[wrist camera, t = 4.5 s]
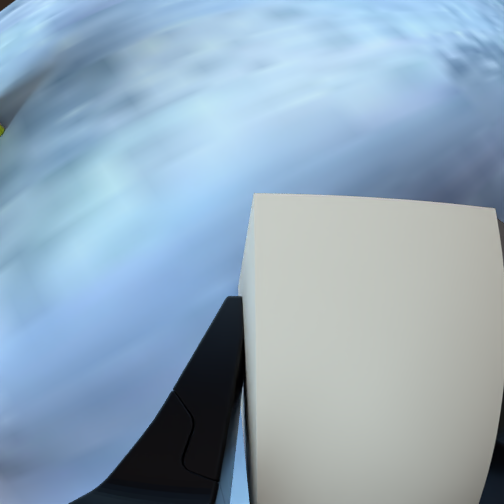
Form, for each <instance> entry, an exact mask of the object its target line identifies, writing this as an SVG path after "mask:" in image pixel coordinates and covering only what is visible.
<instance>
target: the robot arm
mask: <svg viewBox="0 0 504 504" xmlns="http://www.w3.org/2000/svg"><path fill="white" fill-rule="evenodd" d="M243 370H244V320H243V300H242V296H228V297H227V298H226V299H225V301H224V302H223V304H222V306H221V308H220V309H219V311H218V313H217V314H216V316H215V318H214V320H213V321H212V323H211V325H210V326H209V328H208V330H207V331H206V333H205V335H204V337H203V338H202V340H201V342H200V343H199V345H198V347H197V349H196V350H195V352H194V354H193V355H192V357H191V359H190V361H189V362H188V364H187V366H186V367H185V369H184V371H183V372H182V374H181V376H180V378H179V379H178V381H177V383H176V384H175V386H174V388H173V391H171V393H170V394H169V396H168V398H167V400H166V401H165V403H164V404H163V406H162V408H161V409H160V411H159V412H158V414H157V415H156V417H155V419H154V420H153V421H152V423H151V424H150V425H149V427H148V428H147V429H146V431H145V432H144V433H143V435H142V436H141V437H140V439H139V440H138V441H137V442H136V444H135V445H134V446H133V447H132V449H131V450H130V451H129V452H128V454H127V455H126V456H125V457H124V458H123V460H122V461H121V462H120V463H119V465H118V466H117V467H116V468H115V469H114V471H113V472H112V473H111V474H110V475H109V476H108V478H107V479H106V480H105V481H104V482H103V483H101V484H100V485H99V486H98V487H96V488H95V489H94V490H92V491H91V492H89V493H87V494H85V495H84V496H82V497H80V498H78V499H76V500H74V501H72V502H71V503H69V504H230V496H231V487H232V478H233V469H234V461H235V452H236V443H237V434H238V425H239V416H240V407H241V398H242V388H243ZM479 504H504V389H503V396H502V404H501V411H500V418H499V424H498V430H497V435H496V440H495V445H494V450H493V454H492V459H491V463H490V467H489V471H488V474H487V478H486V482H485V485H484V488H483V492H482V495H481V498H480V501H479Z"/></svg>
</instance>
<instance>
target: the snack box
mask: <svg viewBox="0 0 504 504" xmlns="http://www.w3.org/2000/svg"><path fill="white" fill-rule="evenodd" d="M4 130H5V128H4V127H3V125H2V124H1V123H0V136H1V135H2V134H3V132H4Z"/></svg>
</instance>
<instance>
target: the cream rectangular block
mask: <svg viewBox="0 0 504 504" xmlns="http://www.w3.org/2000/svg"><path fill="white" fill-rule="evenodd" d="M238 296H242V300H243V320H244V370H243V388H242V398H241V414H242V426H243V437H244V449H245V459H246V470H247V481H248V491H249V501H250V504H479V501H480V498H481V495H482V492H483V488H484V485H485V482H486V478H487V474H488V471H489V467H490V463H491V459H492V454H493V450H494V445H495V440H496V435H497V430H498V424H499V418H500V411H501V404H502V396H503V387H504V266H503V257H502V248H501V241H500V234H499V228H498V222H497V216H496V211H495V208H487V207H478V206H469V205H459V204H450V203H439V202H428V201H416V200H403V199H389V198H373V197H356V196H335V195H309V194H267V193H254V195H253V201H252V207H251V213H250V219H249V225H248V231H247V237H246V243H245V249H244V255H243V261H242V267H241V273H240V279H239V285H238Z"/></svg>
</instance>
